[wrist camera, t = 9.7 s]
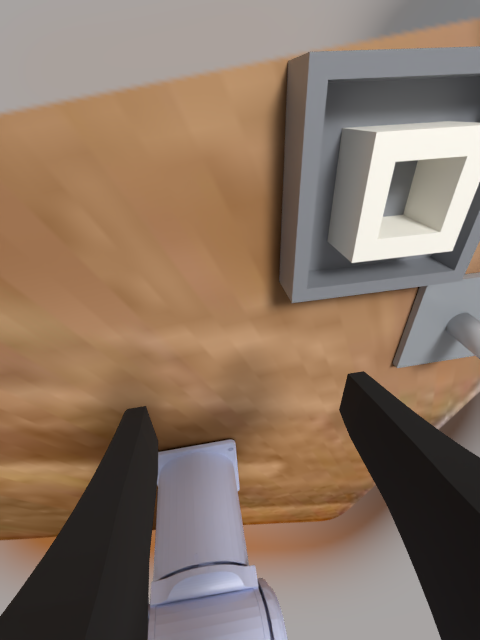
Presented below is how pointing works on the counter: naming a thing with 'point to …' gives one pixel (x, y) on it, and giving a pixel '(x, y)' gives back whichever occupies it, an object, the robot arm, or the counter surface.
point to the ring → (424, 197)
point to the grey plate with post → (442, 323)
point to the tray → (392, 109)
